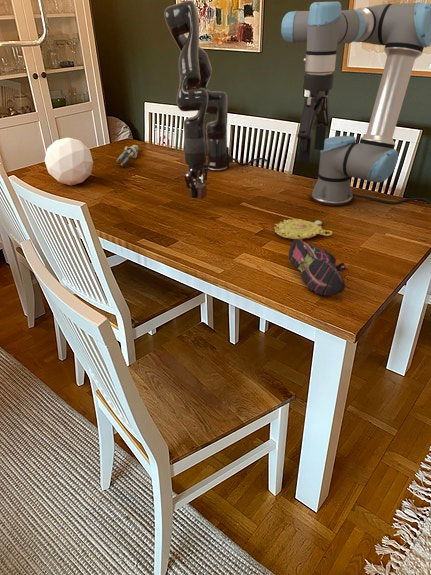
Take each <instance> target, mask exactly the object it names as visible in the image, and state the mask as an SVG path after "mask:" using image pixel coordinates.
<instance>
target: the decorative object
mask: <svg viewBox="0 0 431 575" xmlns="http://www.w3.org/2000/svg"><path fill="white" fill-rule="evenodd" d="M322 225H323V221H321V220H314V222H313V221H310V220H304V219H303V218H292V219H283V221H279V223H274V227H273V229H274V233H276V234H277V236H279V237H282V238H284V239H285V238H286V239H290V240H295V239H300V240H302V241H303V240H305V239H310V238H313V237H315V236H317V235H319V236H320V235H321V236H325V237H329V236H331V235H333V231H332V230H325V229H323V227H322ZM326 233H327V234H326Z"/></svg>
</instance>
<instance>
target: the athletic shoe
mask: <svg viewBox="0 0 431 575" xmlns="http://www.w3.org/2000/svg"><path fill="white" fill-rule="evenodd" d="M288 260H289V261H290V264H291V265H292V266H293V267H294V268H295V269H297V270H299V271H300V272H301V279H302V283H304V284H305V285H306V288H307V289H309V291H310V292H314V294H318V295H321V296H323V295H324V296H333V295H337V294H342V292H343V291H344V290H345V289H346V283H345V280H344V278H343V276H342V274H341V273H340V272H345V271H349V269H347V266H346V265H345V263H344V262H341V263H339V264H338V265H337V259H336V257H335V255H334V254H332V253H331V252H329V251H328V250H325V249H323V248H321V247H317V246H316V245H315V246H314V245H312V244H310V243H307V242H305V241H304V240H303V239H302V240H301V239H293V241H291V244H290V247H289V249H288Z"/></svg>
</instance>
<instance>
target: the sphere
mask: <svg viewBox="0 0 431 575" xmlns="http://www.w3.org/2000/svg"><path fill="white" fill-rule="evenodd" d="M44 163H45V166H46V169H47V172H48V174H49V175H50V176H51V177H53V178H54V179H55V180H56V181H57V182H58V183H60V184H64V185H66V186H70V187H71V186H74V185H77V184H81V183H83V182H84V181H85V180H86V179H88V178H89V177H90V176H91V175H92V171H93V166H94V159H93V155H92V153H91V149H89V148H88V147H87V146H86V144H84V142H82V141H81V140H79V139H75V138H72V137H64V138H60V139H55V141H54V142H52V144H50V145H49V146H48V147H47V149H46V153H45V157H44Z"/></svg>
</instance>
